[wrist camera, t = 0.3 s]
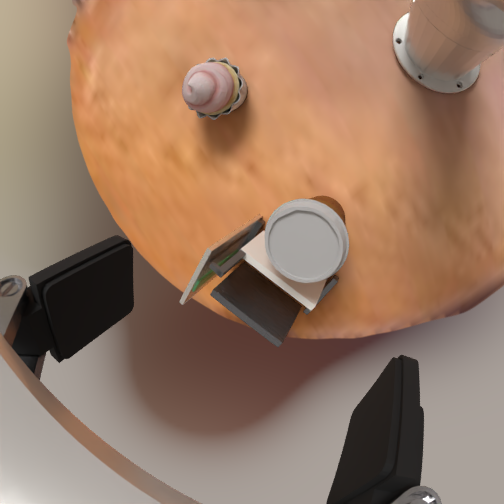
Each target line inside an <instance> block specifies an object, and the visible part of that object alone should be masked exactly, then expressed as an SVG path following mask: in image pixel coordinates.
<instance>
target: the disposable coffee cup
mask: <svg viewBox="0 0 504 504" xmlns="http://www.w3.org/2000/svg"><path fill="white" fill-rule="evenodd" d="M264 237H265V248H266V253H267V255H268V258H269V260H270V262H271V263H272V265H273V266H274V267H275V268H276V270H278V271H279V272H280V273H281V274H282V275H284V276H285V277H287V278H289V279H291V280H294V281H297V282H302V283H312V282H318V281H321V280H324V279H327V278H329V277H331V276H332V275H334V274H335V273H336V272H337V271H338V270H339V269H340V268H341V267H342V265H343V264H344V262H345V260H346V257H347V254H348V249H349V239H348V233H347V230H346V227H345V215H344V211H343V209H342V207H341V205H340V204H339V203H338V202H337V201H336V200H334V199H332V198H330V197H327V196H317V197H314V198H310V199H297V200H292V201H289V202H287V203H284V204H283V205H281V206H280V207H278V208H277V209H276V210H275V211H274V212H273V214H272V215H271V216H270V218H269V220H268V222H267V225H266V228H265V236H264Z"/></svg>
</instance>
